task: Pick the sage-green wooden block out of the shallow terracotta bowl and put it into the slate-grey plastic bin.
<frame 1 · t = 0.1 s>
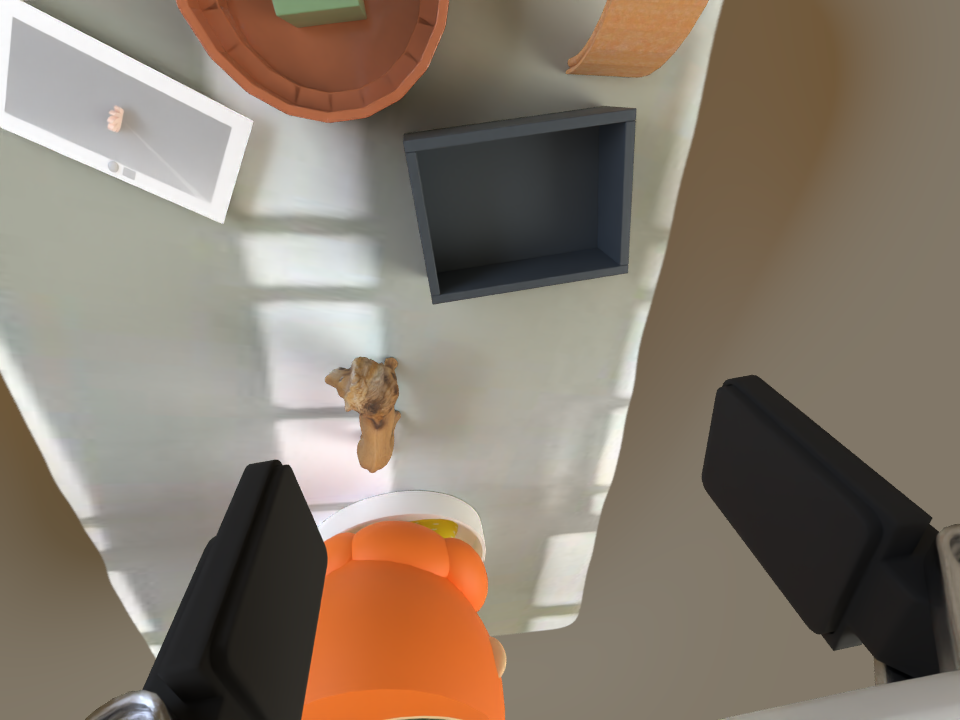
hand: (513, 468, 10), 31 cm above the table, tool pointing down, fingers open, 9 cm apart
lion figurine: (373, 389, 45), on the table
potted cactus: (387, 531, 55), on the table
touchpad: (129, 117, 32), on the table
bin: (511, 197, 38), on the table
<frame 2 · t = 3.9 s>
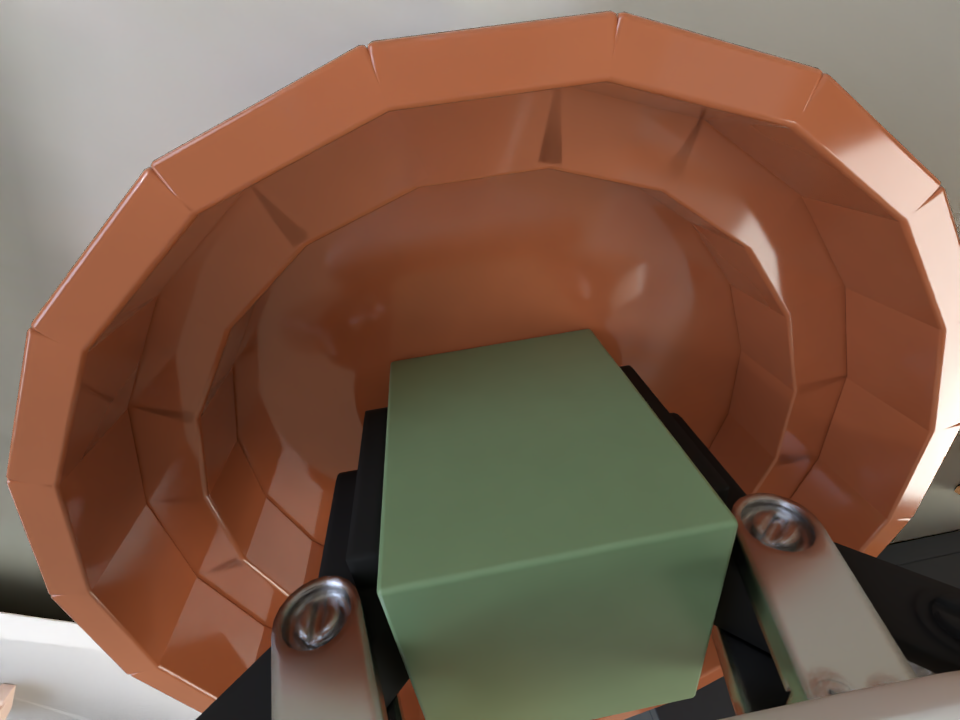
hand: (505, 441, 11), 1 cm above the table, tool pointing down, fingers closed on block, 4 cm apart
bowl: (498, 413, 12), on the table
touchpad: (37, 648, 14), on the table
block: (500, 423, 12), resting on bowl, touching gripper
bin: (778, 642, 20), on the table
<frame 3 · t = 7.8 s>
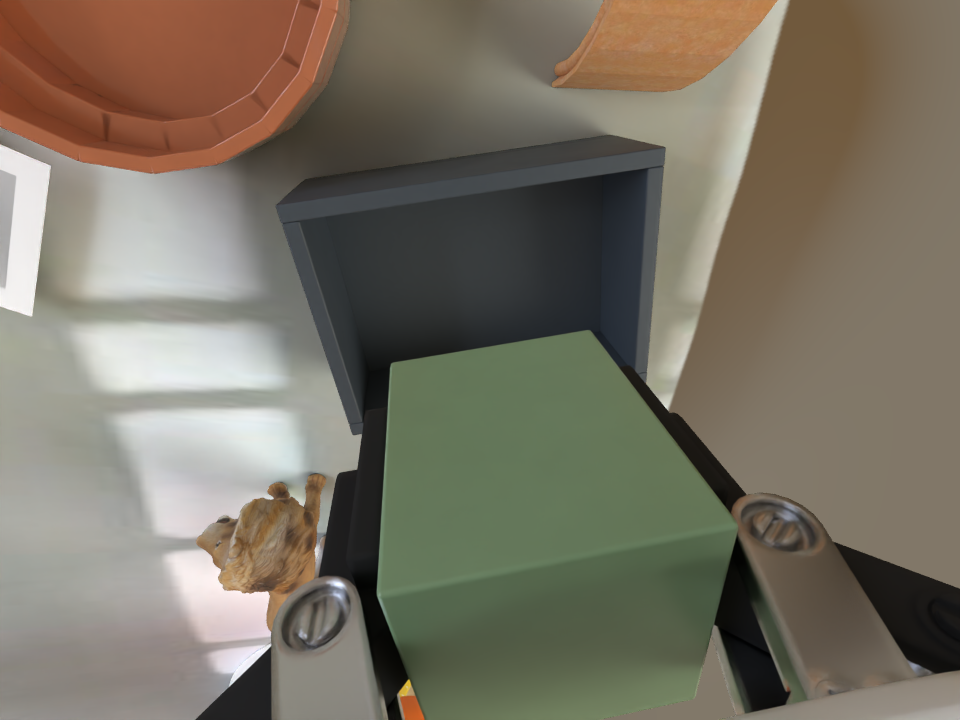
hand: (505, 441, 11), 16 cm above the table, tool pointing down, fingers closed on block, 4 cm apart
lion figurine: (296, 510, 33), on the table
potted cactus: (332, 662, 44), on the table
block: (500, 424, 12), point 16 cm above the table, touching gripper
bin: (474, 266, 26), on the table
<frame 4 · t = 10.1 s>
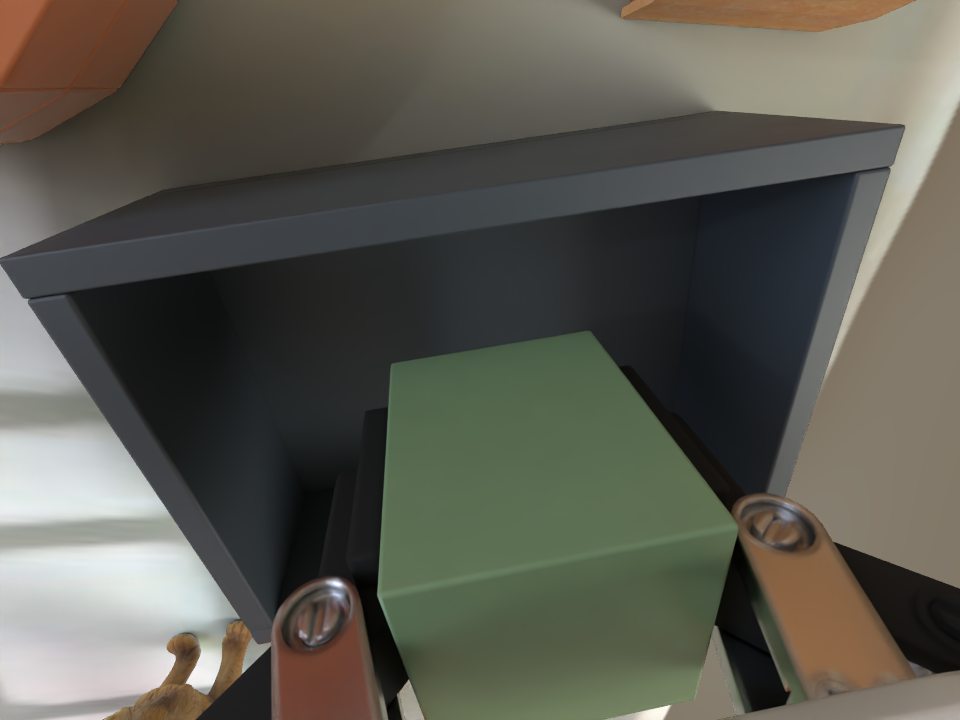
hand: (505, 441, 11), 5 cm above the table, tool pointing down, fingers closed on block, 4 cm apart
lion figurine: (216, 662, 23), on the table
block: (501, 424, 12), point 5 cm above the table, touching gripper
bin: (474, 332, 16), on the table
when the fingers open (1 cm above the table, at t = 11.7 s): block stays where it is, resting on bin.
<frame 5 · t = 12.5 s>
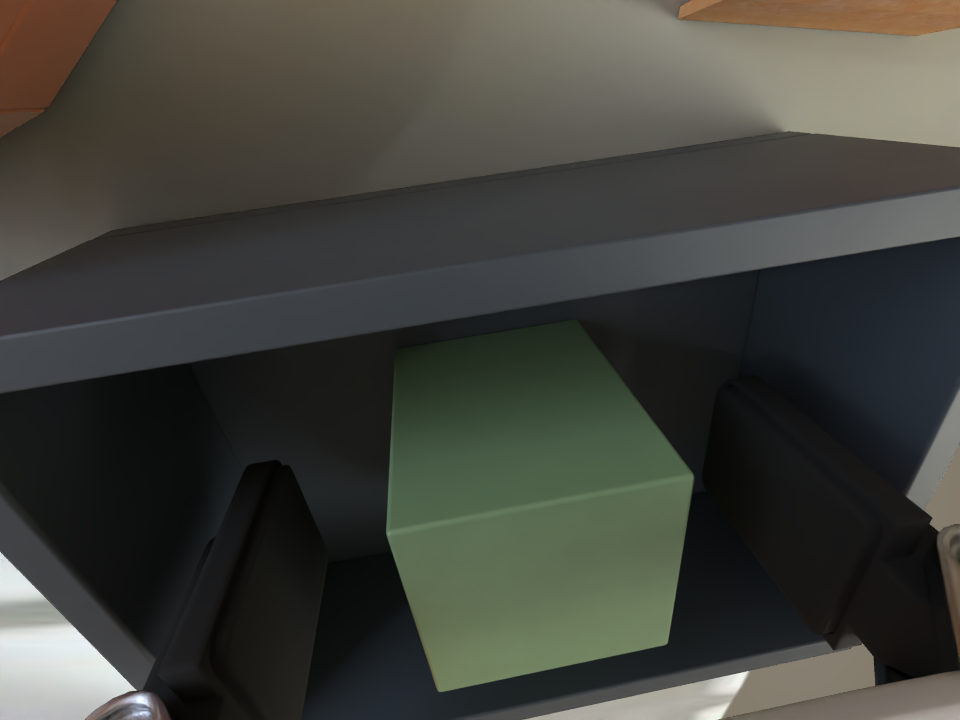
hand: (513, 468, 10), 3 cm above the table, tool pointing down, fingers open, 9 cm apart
block: (496, 407, 13), point 1 cm above the table, touching bin
bin: (490, 388, 13), on the table
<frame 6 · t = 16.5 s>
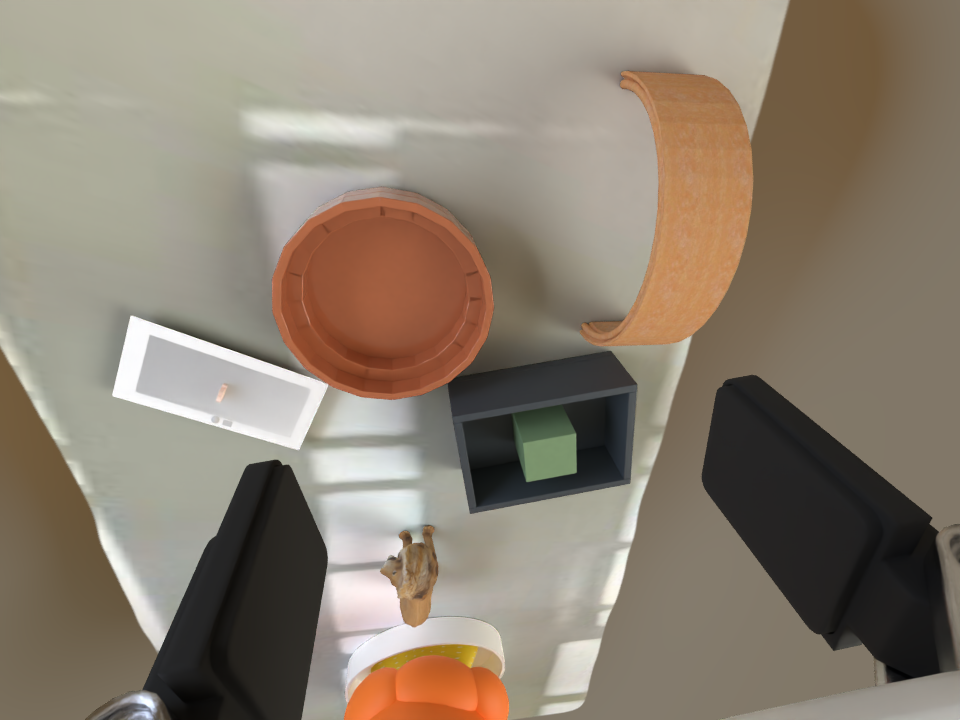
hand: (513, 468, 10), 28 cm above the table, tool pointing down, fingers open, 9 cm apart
lion figurine: (412, 546, 53), on the table
bowl: (388, 289, 37), on the table
potted cactus: (418, 646, 63), on the table
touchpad: (228, 381, 40), on the table
block: (535, 419, 45), point 1 cm above the table, touching bin
arch: (630, 219, 37), on the table
bin: (533, 413, 46), on the table
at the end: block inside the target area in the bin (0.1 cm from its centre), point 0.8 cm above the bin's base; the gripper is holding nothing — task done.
